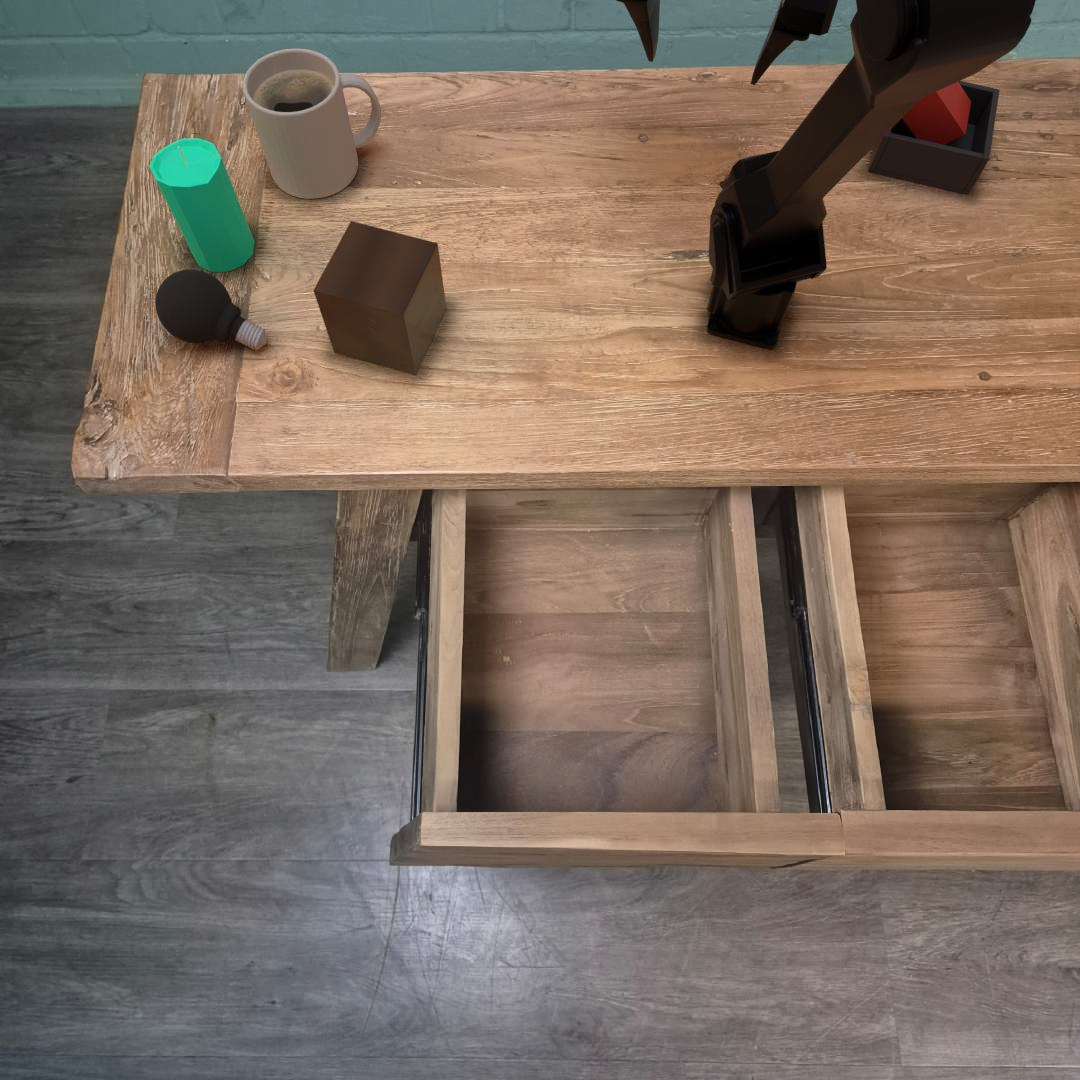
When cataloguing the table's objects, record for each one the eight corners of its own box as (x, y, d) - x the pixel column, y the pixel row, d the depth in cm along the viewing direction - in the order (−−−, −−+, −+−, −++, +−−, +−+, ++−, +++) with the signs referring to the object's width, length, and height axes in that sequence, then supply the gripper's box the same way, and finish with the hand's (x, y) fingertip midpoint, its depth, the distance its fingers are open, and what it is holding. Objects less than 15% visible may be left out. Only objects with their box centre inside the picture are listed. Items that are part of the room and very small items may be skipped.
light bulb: (257, 343, 76) (143, 286, 74) (246, 387, 81) (139, 335, 79) (287, 297, 80) (180, 241, 78) (275, 342, 85) (173, 291, 83)
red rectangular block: (965, 134, 88) (903, 42, 82) (927, 153, 91) (864, 66, 85) (971, 101, 90) (911, 9, 84) (933, 121, 93) (872, 33, 87)
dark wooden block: (446, 308, 83) (438, 243, 75) (415, 375, 80) (403, 314, 72) (367, 286, 84) (350, 220, 76) (333, 352, 81) (313, 290, 73)
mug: (258, 190, 89) (227, 104, 80) (291, 125, 93) (265, 35, 84) (361, 210, 88) (341, 126, 79) (390, 143, 92) (375, 55, 83)
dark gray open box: (979, 126, 94) (1000, 89, 89) (968, 195, 90) (989, 159, 85) (883, 104, 95) (899, 67, 91) (867, 171, 91) (883, 135, 87)
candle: (196, 278, 84) (146, 179, 73) (189, 231, 87) (139, 129, 76) (259, 265, 85) (218, 165, 74) (250, 219, 87) (210, 116, 76)
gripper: (886, -162, 66) (823, 34, 80) (644, -208, 68) (624, -9, 82) (862, -73, 61) (800, 117, 76) (604, -125, 64) (590, 69, 78)
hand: (702, 69), depth 78 cm, fingers open, 9 cm apart
